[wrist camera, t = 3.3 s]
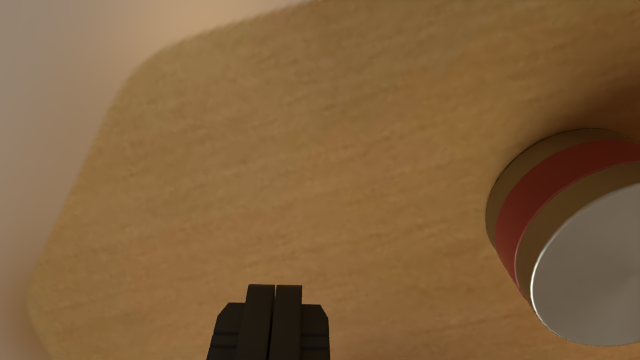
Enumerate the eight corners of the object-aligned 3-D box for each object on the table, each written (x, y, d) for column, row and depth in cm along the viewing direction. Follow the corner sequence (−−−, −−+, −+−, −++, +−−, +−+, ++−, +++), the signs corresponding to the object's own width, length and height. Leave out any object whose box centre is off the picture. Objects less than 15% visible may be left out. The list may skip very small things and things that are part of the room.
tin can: (456, 183, 18) (497, 246, 14) (628, 92, 17) (728, 135, 13) (518, 294, 21) (566, 374, 17) (671, 226, 20) (764, 296, 16)
